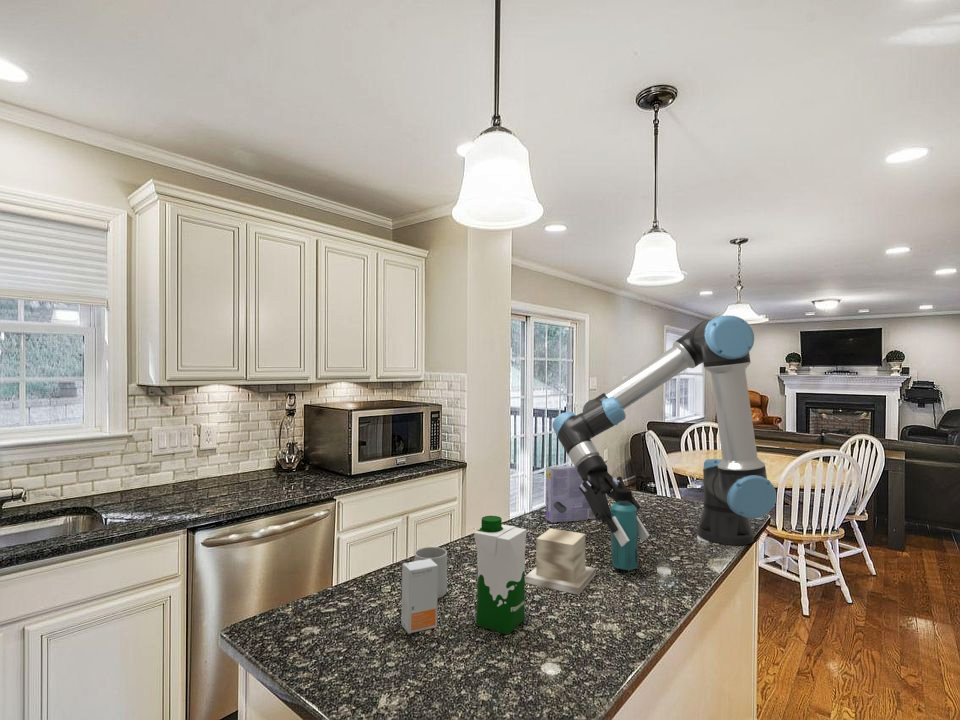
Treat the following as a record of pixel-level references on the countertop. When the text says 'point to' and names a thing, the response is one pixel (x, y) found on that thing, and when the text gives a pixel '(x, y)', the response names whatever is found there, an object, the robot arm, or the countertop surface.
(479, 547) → the milk carton
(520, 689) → the countertop surface
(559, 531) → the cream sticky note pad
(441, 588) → the cup
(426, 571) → the skincare box
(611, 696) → the countertop surface
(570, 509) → the cake pan box
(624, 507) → the beverage bottle
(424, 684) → the countertop surface
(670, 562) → the countertop surface
